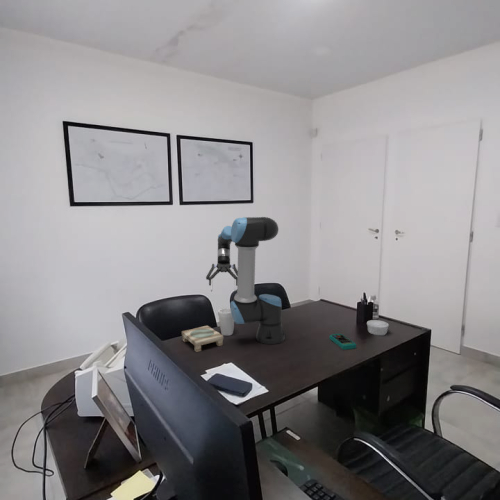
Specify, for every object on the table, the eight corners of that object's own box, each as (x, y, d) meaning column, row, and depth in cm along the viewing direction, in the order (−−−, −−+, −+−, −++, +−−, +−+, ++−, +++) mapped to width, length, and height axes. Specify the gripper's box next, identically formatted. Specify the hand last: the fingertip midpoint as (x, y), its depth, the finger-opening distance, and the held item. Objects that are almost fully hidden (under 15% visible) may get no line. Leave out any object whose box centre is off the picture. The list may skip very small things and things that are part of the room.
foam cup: (222, 337, 181) (221, 314, 179) (216, 332, 189) (215, 309, 187) (238, 334, 185) (238, 311, 183) (231, 329, 193) (231, 307, 192)
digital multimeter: (341, 337, 179) (341, 332, 179) (356, 349, 165) (356, 343, 165) (328, 339, 178) (328, 334, 177) (343, 350, 163) (343, 345, 163)
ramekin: (386, 337, 178) (387, 328, 177) (364, 334, 183) (365, 324, 182) (389, 331, 187) (390, 321, 187) (368, 327, 193) (369, 318, 192)
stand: (223, 345, 171) (223, 335, 170) (196, 352, 163) (195, 342, 162) (207, 334, 186) (207, 325, 185) (182, 340, 178) (181, 331, 177)
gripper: (244, 260, 207) (244, 293, 197) (203, 260, 205) (201, 292, 195) (244, 254, 201) (245, 288, 191) (202, 254, 199) (201, 288, 188)
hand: (223, 290), depth 193 cm, fingers open, 13 cm apart
